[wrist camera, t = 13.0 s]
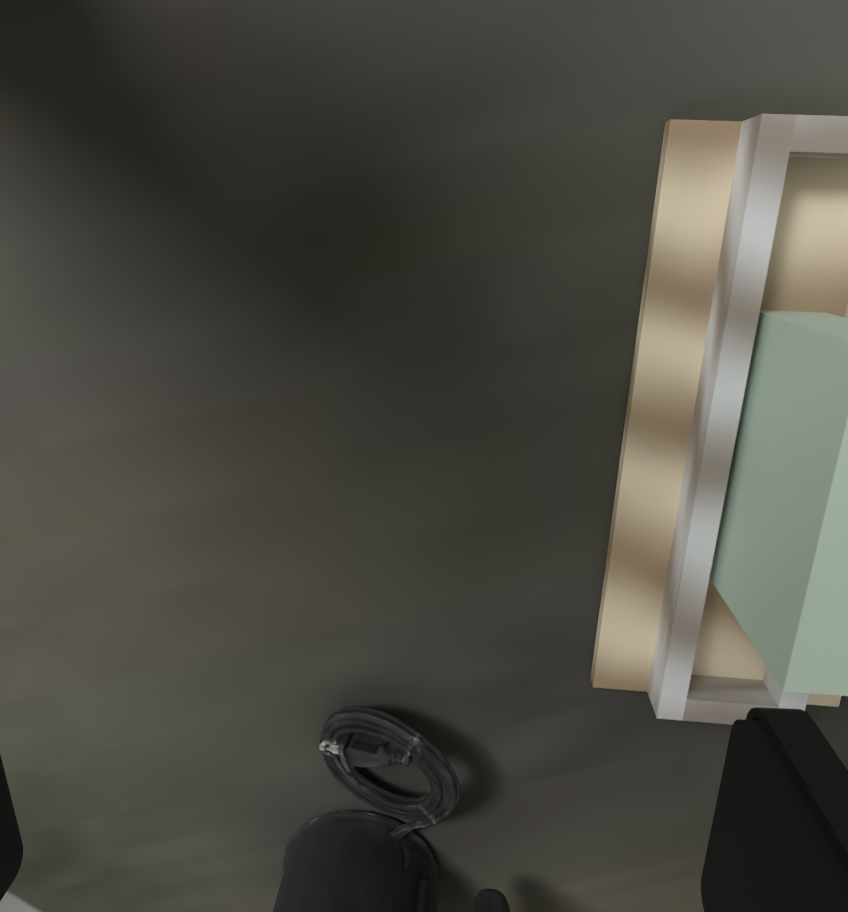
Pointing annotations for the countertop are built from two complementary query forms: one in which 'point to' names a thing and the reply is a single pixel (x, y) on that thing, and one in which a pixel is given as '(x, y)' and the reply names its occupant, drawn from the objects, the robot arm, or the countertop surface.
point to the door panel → (791, 503)
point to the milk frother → (373, 827)
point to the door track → (710, 396)
